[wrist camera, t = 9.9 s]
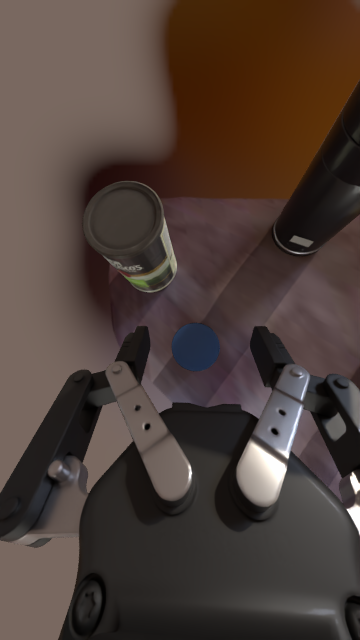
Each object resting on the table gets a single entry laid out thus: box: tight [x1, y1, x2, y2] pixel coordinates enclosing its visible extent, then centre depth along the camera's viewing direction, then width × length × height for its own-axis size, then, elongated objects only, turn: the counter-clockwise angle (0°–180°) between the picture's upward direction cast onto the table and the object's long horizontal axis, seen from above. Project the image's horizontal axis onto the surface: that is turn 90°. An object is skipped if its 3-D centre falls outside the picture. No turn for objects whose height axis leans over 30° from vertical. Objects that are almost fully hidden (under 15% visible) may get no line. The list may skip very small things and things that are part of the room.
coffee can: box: [82, 181, 177, 292], centre depth 29 cm, size 10×10×14 cm
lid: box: [172, 323, 220, 371], centre depth 23 cm, size 6×6×2 cm
